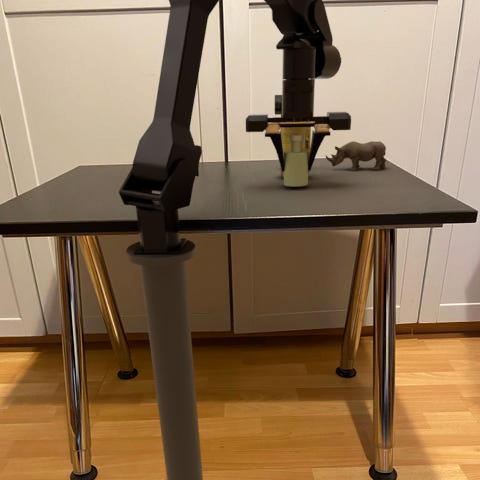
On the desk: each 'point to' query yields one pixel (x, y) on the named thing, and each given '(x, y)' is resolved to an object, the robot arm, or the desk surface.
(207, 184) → the desk surface
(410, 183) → the desk surface
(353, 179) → the desk surface
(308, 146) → the sauce bottle
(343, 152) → the rhino figurine
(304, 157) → the small bottle
